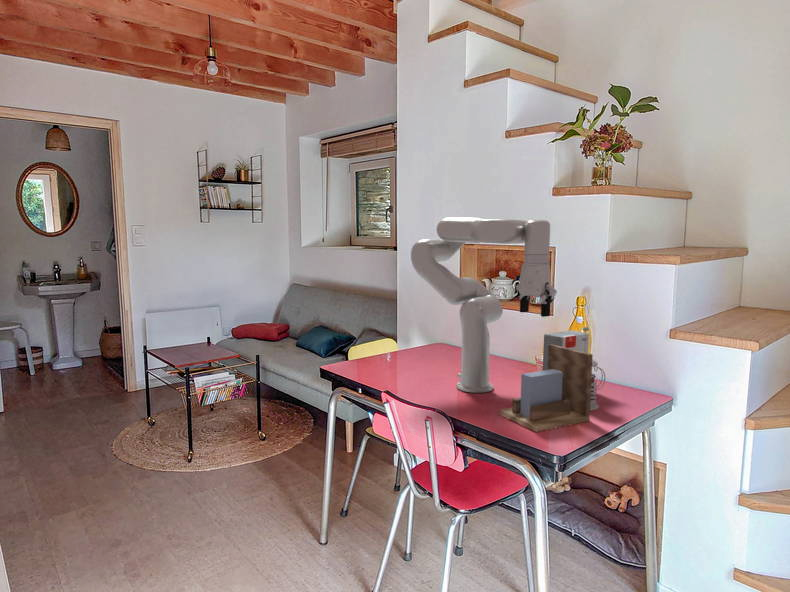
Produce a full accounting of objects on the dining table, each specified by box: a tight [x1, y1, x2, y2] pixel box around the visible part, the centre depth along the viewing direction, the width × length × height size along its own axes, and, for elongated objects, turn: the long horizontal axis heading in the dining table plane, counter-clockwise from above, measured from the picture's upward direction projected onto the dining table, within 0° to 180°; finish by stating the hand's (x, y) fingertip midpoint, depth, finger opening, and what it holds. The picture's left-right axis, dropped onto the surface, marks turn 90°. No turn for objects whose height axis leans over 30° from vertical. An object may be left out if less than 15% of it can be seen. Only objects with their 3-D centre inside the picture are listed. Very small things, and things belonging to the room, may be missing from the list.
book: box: [520, 369, 563, 418], centre depth 155 cm, size 4×12×12 cm, turn 118°
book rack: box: [498, 344, 593, 433], centre depth 155 cm, size 16×20×20 cm
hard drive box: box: [541, 330, 590, 371], centre depth 183 cm, size 16×8×20 cm, turn 126°
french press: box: [582, 326, 606, 411], centre depth 167 cm, size 10×12×25 cm
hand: (534, 314), depth 169 cm, fingers open, 9 cm apart
